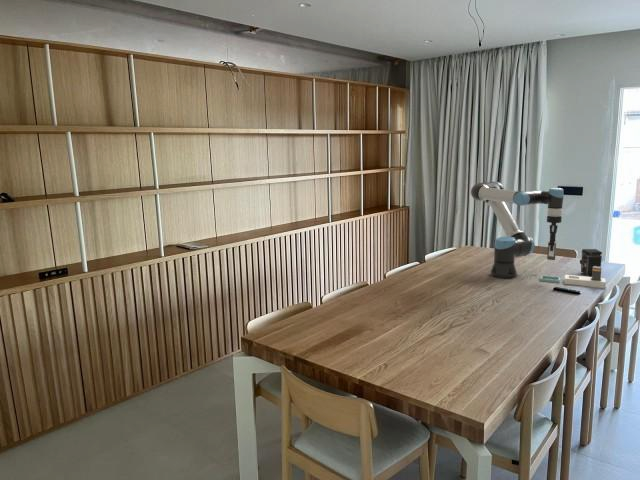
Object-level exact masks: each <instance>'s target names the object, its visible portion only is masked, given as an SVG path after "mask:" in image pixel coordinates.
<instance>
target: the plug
mask: <svg viewBox="0 0 640 480" xmlns="http://www.w3.org/2000/svg"><path fill="white" fill-rule="evenodd" d="M549 243H550V240H549V241H548V243H547V256H546V259H547V260H548V261H549V260H550V261H556V251H557V241H555V243H554V244H555V247H554V257H552V256H549V245H548V244H549Z"/></svg>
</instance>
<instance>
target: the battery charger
mask: <svg viewBox="0 0 640 480" xmlns="http://www.w3.org/2000/svg"><path fill="white" fill-rule="evenodd" d="M601 276H602V266H601V267H597V266H593V272H592V275H591V276H583V275H573V274H572V275H571V274H564V284H565V285H573V286H575V285H576V286H584V287H585V286H586V287H591V288H598V289H599V288H600V289H606V283H607V280H606V278H604V277H601Z"/></svg>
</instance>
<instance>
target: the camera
mask: <svg viewBox="0 0 640 480" xmlns="http://www.w3.org/2000/svg"><path fill="white" fill-rule="evenodd" d="M602 253H603V252H602V251H601V250H599V249H597V248H582V249H581V259H580V260H579V264H580V272H581V273H582V274H584V275H586V276H590V275H591V276H592V272H593V266H597V267H601V268H602V261H603V260H602V258H603V256H602Z"/></svg>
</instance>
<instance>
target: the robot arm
mask: <svg viewBox="0 0 640 480" xmlns="http://www.w3.org/2000/svg"><path fill="white" fill-rule="evenodd" d="M470 196H471V197H472V198H473V199H474V200H475V201H481V202H482V201H483V202H485V203H486V205H487V206H489V207H491V209H492V211H493V212H494V214H495V217H496V218H497V220H498V222H499V224H500V225H501V228H502V229H503V231H504V233H505V235H506V236H501V237H497V238H496V239H495V241H494V245H493V247H494V251H493V253H494V255H493V264H492V265H491V266H492V267H491V269H490V276H491V277H494V278H498V279H514V278H516V277H518V272H517V267H516V266H515V265H516V264H515V258H519V257H520V258H521V257H526V256H529V255H531V254H532V253H533V252H534V251H535V244H536V243H535V241H534V239H533V238H532V237H531V236H528V235H527V234H526V233H525V231H522V230H521V229H520V227H519V226H518V224H517V222H516V220H515V218H514V217H513V215H512V213H511V211H510V209H509V208H508V205H507V204H506V203H508V204H515V205H516V206H523V207H524V206H528V205H529V206H530V205H538V204H540V205H541V204H542V205H547V216H546V222H547V223H550V225H549V241H550V243H549V244H548V243H547V246H548V245H549V256H552V257H554V247H555V244H554V243H555V242H557V241H556V237H557V235H556V234H557V231H558V225H557V224H561V223H562V217H563V216H562V214H563V213H564V209H563V203H564V189H563V188H561V187H551V188H549V189H548V190H540V189H536V190H535V189H533V190H531V191H521V190H520V191H519V190H513V189H512V190H509V189H505V187H504V186H503V185H502V183H501V182H499V181H489V182H488V181H487V182H477V183H475V184H474V185H472V187H471V189H470Z"/></svg>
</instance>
